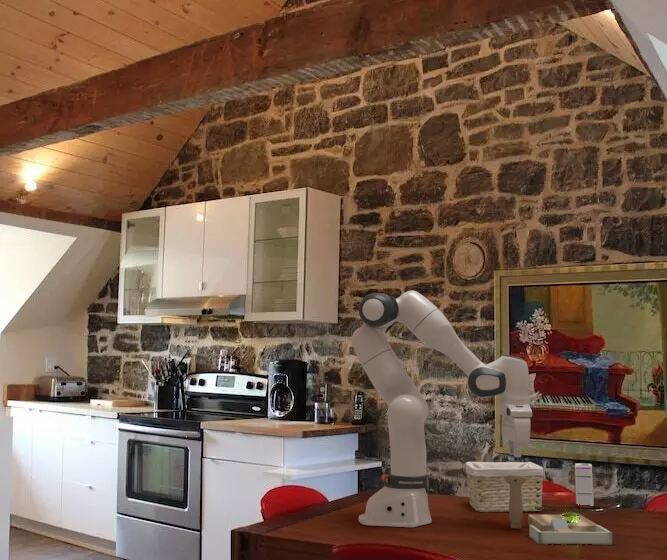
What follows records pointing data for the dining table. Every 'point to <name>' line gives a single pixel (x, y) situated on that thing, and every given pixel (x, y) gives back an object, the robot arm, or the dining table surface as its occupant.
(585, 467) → the syrup box
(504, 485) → the storage basket
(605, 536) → the tray
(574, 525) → the square wooden board
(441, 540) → the dining table surface
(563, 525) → the tile
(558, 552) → the dining table surface
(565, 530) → the tile
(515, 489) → the handle
